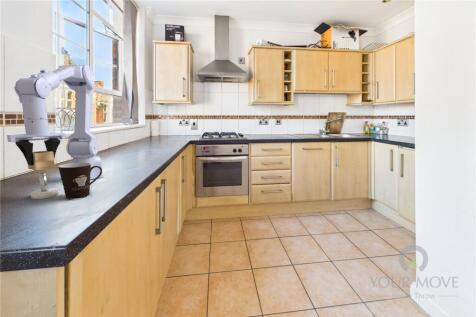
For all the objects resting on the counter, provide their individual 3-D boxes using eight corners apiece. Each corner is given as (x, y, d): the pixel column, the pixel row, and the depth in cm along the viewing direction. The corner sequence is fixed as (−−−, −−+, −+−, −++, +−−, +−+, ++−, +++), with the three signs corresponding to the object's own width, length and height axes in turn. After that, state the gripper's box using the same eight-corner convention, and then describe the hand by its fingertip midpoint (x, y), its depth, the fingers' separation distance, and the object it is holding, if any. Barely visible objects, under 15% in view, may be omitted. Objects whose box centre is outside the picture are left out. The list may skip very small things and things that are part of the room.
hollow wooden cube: (46, 166, 84) (44, 150, 84) (54, 167, 82) (53, 151, 81) (28, 168, 80) (26, 152, 79) (36, 170, 78) (34, 153, 77)
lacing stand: (54, 191, 87) (53, 187, 87) (61, 195, 83) (61, 190, 83) (28, 196, 82) (27, 191, 82) (35, 200, 77) (34, 195, 77)
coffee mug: (59, 201, 76) (56, 168, 75) (63, 194, 84) (60, 163, 82) (104, 196, 82) (101, 165, 80) (103, 189, 89) (101, 161, 88)
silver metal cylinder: (46, 190, 83) (44, 171, 82) (48, 191, 82) (46, 172, 81) (40, 191, 82) (37, 172, 81) (42, 192, 81) (39, 173, 80)
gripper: (54, 119, 87) (59, 159, 89) (-1, 119, 74) (6, 166, 76) (67, 119, 84) (71, 161, 86) (11, 119, 71) (17, 168, 73)
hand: (41, 163), depth 81 cm, fingers closed on hollow wooden cube, 5 cm apart
